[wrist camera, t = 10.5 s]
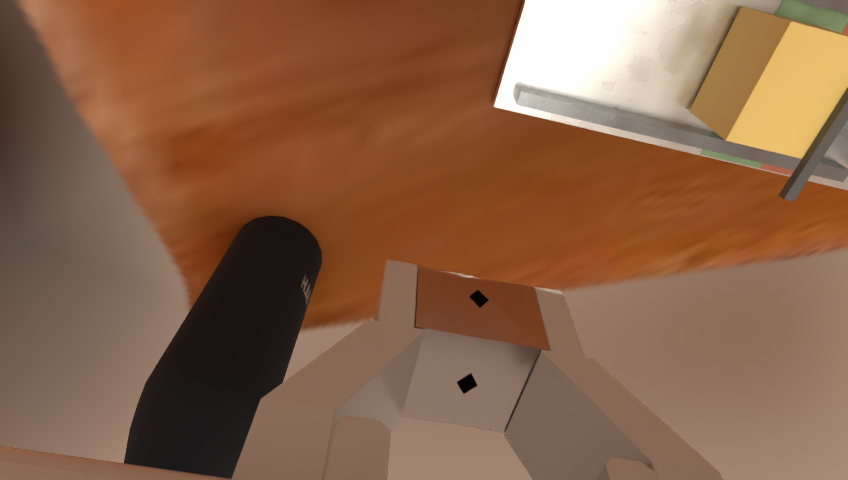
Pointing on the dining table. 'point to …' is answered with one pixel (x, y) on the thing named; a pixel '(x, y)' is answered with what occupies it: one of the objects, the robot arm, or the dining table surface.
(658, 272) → the dining table surface
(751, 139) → the block
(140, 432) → the wine bottle
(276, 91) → the dining table surface
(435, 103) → the dining table surface
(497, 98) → the track
